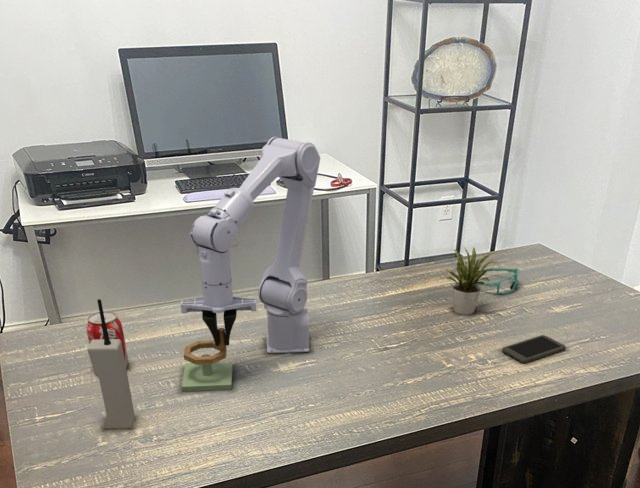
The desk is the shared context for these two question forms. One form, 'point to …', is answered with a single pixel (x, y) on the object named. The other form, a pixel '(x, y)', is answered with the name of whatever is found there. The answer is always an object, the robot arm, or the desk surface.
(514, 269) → the sunglasses
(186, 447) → the desk surface
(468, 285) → the house plant
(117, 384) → the vintage mobile phone
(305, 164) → the robot arm
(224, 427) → the desk surface
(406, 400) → the desk surface
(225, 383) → the peg stand
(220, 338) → the maple ring
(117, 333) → the soda can
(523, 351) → the cell phone
